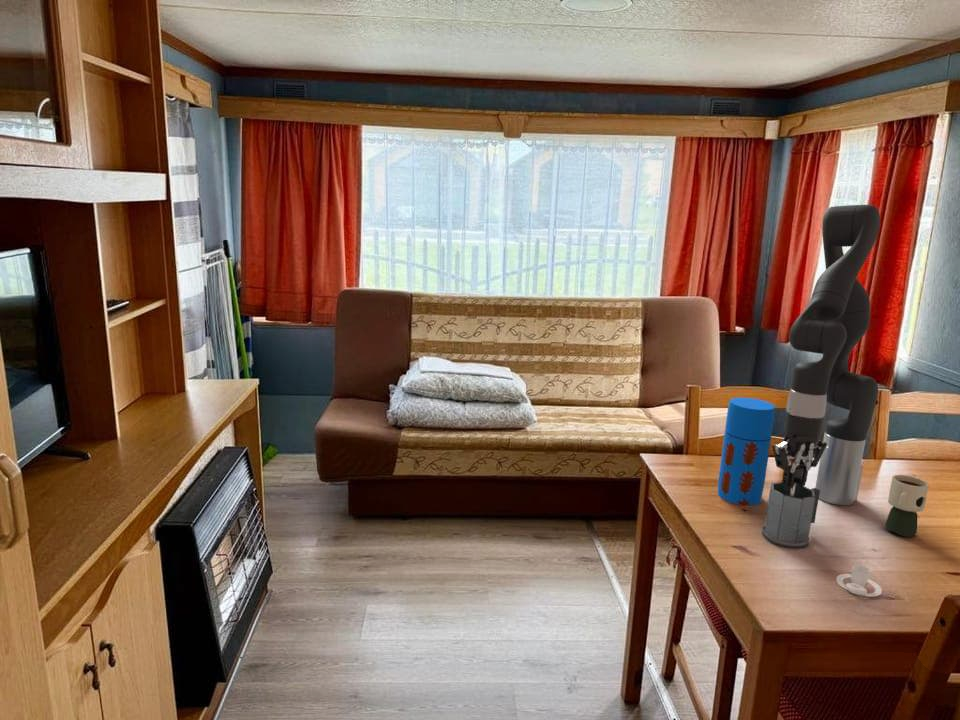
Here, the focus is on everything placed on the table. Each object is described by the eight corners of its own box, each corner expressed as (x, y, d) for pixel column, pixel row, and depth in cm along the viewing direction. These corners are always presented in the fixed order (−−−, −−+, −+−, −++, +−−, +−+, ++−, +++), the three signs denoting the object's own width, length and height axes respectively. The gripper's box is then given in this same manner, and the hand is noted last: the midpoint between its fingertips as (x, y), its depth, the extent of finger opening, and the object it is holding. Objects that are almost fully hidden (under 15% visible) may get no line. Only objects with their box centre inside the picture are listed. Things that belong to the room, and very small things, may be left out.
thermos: (765, 508, 163) (780, 412, 158) (720, 502, 165) (733, 407, 160) (756, 490, 174) (770, 399, 168) (714, 485, 176) (726, 395, 170)
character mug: (912, 546, 147) (923, 492, 144) (876, 534, 152) (886, 482, 149) (922, 530, 155) (933, 479, 152) (888, 520, 160) (898, 469, 157)
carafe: (793, 524, 156) (801, 477, 153) (827, 543, 147) (836, 494, 144) (752, 531, 151) (759, 484, 148) (785, 551, 142) (793, 501, 140)
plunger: (786, 518, 152) (795, 459, 149) (810, 532, 146) (820, 471, 143) (763, 522, 150) (772, 462, 146) (787, 536, 144) (797, 474, 140)
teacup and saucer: (859, 603, 125) (863, 583, 124) (823, 581, 132) (827, 562, 131) (890, 594, 129) (894, 575, 128) (854, 573, 136) (857, 555, 135)
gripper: (815, 403, 148) (803, 475, 152) (766, 408, 143) (756, 482, 146) (844, 414, 141) (831, 489, 145) (794, 419, 136) (782, 496, 140)
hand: (793, 485), depth 146 cm, fingers closed on plunger, 3 cm apart
